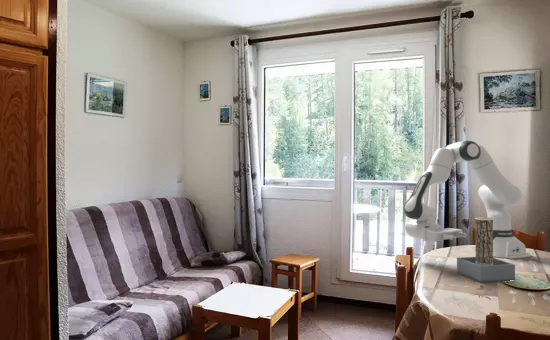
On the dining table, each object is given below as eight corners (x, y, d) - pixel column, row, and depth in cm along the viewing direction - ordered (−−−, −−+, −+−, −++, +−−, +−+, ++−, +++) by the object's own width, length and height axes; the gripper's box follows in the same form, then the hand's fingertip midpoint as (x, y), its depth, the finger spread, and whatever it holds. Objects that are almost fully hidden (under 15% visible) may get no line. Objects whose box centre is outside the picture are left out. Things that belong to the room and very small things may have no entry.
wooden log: (495, 277, 165) (495, 219, 165) (478, 276, 166) (478, 218, 166) (490, 272, 171) (489, 217, 171) (473, 272, 173) (473, 216, 173)
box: (488, 271, 178) (488, 256, 178) (515, 281, 162) (514, 264, 162) (457, 272, 176) (456, 257, 175) (480, 283, 160) (480, 266, 160)
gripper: (447, 236, 196) (473, 241, 184) (420, 240, 186) (445, 245, 174) (447, 224, 196) (472, 227, 184) (420, 227, 186) (445, 231, 174)
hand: (459, 236), depth 179 cm, fingers open, 8 cm apart
